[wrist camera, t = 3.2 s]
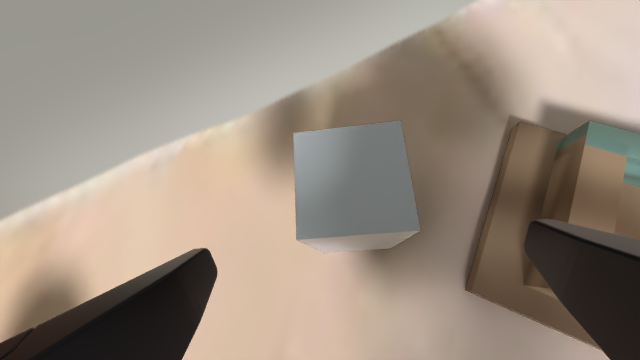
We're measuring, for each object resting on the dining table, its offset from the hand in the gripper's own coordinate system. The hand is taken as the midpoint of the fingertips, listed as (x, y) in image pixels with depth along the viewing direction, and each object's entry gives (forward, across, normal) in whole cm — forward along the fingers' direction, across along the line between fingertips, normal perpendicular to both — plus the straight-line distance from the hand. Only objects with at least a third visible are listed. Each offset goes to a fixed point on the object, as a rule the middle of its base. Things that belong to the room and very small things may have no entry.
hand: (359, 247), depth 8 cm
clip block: (+10, 0, -6) cm, 11 cm away
